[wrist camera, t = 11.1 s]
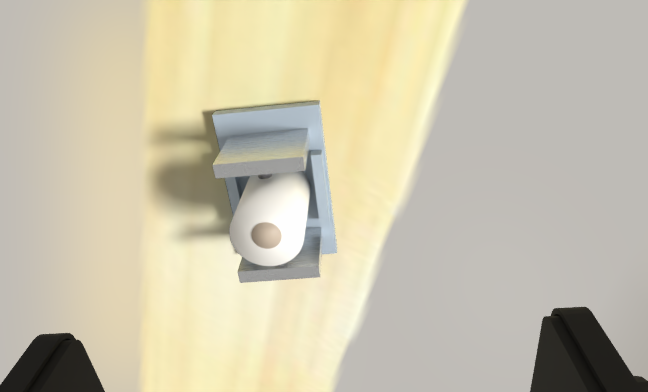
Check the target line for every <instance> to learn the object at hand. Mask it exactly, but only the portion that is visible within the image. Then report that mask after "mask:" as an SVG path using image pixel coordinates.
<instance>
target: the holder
mask: <svg viewBox="0 0 648 392" xmlns="http://www.w3.org/2000/svg"><path fill="white" fill-rule="evenodd" d="M212 117H213V122H214V126H215V131H216V135H217V140H218V144H219V149H220V151H221V149H222V148H223V146H224V144H225V143H226V141H227V139H228V138H229V136H231V135H241V134H252V133H262V132H273V131H283V130H294V129H304V128H309V136H310V144H309V150H308V156H307V162H306V168H305V171H304V173H305V174H306V175H307V177H308V179H309V182H310V189H311V190H310V199H309V206H308V214H307V221H306V228H313V227H322V234H323V242H322V254H331V253H337V243H336V235H335V226H334V218H333V209H332V201H331V192H330V184H329V175H328V167H327V158H326V150H325V141H324V133H323V124H322V116H321V107H320V101H312V102H302V103H292V104H282V105H272V106H262V107H252V108H242V109H232V110H222V111H215V112H214V113H213V115H212ZM249 177H250V176H240V177H228V178H225V182H226V186H227V190H228V195H229V199H230V204H231V208H232V213H233V216H234V214H235V211H236V209H237V206H238V204H239V201H240V199H241V196H242V194H243V192H244V189H245V187H246V184H247V182H248V179H249Z"/></svg>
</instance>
